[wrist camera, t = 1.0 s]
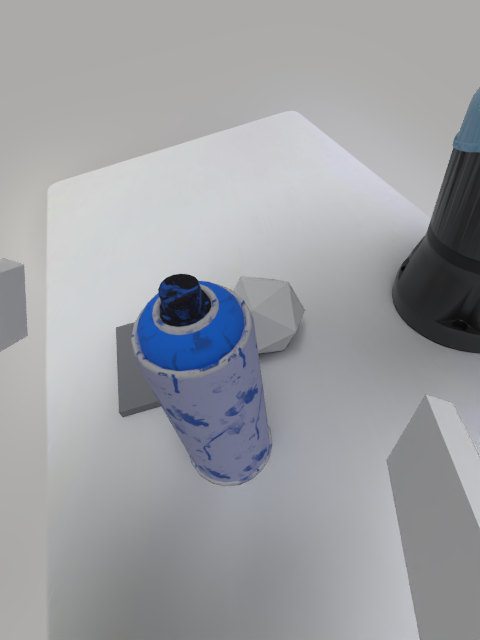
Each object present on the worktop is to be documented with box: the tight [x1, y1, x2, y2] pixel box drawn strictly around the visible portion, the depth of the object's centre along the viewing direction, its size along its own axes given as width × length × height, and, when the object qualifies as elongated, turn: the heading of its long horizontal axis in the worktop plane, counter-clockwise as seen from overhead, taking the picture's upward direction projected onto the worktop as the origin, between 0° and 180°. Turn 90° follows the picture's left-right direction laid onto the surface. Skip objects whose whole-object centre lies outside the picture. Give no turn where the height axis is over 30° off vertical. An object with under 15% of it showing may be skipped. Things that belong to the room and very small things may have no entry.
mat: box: [116, 323, 161, 417], centre depth 41 cm, size 12×12×1 cm
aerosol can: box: [131, 274, 272, 486], centre depth 26 cm, size 8×8×20 cm
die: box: [234, 277, 305, 353], centre depth 39 cm, size 8×9×10 cm
